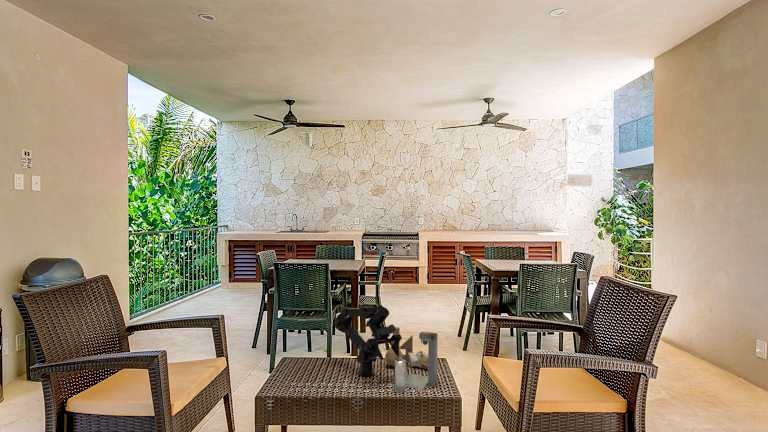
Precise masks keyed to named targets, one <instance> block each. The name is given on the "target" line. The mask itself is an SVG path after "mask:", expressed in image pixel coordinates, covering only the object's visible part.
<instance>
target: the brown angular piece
mask: <svg viewBox="0 0 768 432" xmlns="http://www.w3.org/2000/svg"><path fill="white" fill-rule="evenodd" d="M400 329H401V328H400V327H397V326H395V331H394V333H392V335H395V334H400V335H401V333H400ZM413 337H414V336H413V334H412V335H410V337H408V339H406V340H405V341H404V343H402V344H401V345H400V343H399V344H398V346H399V349H400V350H405V354H403V353H402V355H403V356H402V359H403V360H405V361H406V364H410V362H409V358H408V352H410V353H413V347H414V346H413V345H414V343H413V340H414V339H413ZM413 354H414V353H413Z"/></svg>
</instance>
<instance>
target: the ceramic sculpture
mask: <svg viewBox="0 0 768 432" xmlns="http://www.w3.org/2000/svg"><path fill="white" fill-rule="evenodd" d="M408 358H409V362H410V363H409V365H410V367H411V368H413V367H419V368H420V369H425V370H428V353H424V352H423V351H422V350H421V351H418V352H417V353H410V352H408ZM438 363H439V361H437V364H438Z"/></svg>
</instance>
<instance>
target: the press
mask: <svg viewBox="0 0 768 432" xmlns="http://www.w3.org/2000/svg"><path fill="white" fill-rule="evenodd" d="M418 338H419V340H420V344H423V345H424V346H426V345H427V346H428V348H427V349H428V351H427V352H428V353H427V354H428V369H427V372H428V373H427V374H428V375H427V376H425V375H421V374H413V373H409V374H408V375H406V377H405V388H412V389H417V390H418V389H419V390H424V389H426V388H427V387H430V388H431V387H432V388H435V387H436V386H437V385H438V363H437V362H438V333H436V332H429V331H420V332H419V333H418Z"/></svg>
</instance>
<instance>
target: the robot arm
mask: <svg viewBox="0 0 768 432" xmlns="http://www.w3.org/2000/svg"><path fill="white" fill-rule="evenodd" d="M389 315H390V311H389V309H388V308H387V307H384V306H383V305H382V304H379V305H377V307H376V306H374V305H372V306H371V305H370V306H364V307H360V308H359V307H344V308H342V310H341V312H340V313H338V315H336V317H335V319H334V322H333V326H334V328H336V330H337V331H338V332H341V333H344V334H345V335H346V337H347V338H348V339H349V340H350V341H351V343H353V345H354V346H355V347H356V348H357V349H358V355H357V356H356V357H355V358H356V362H357V363H358V364H360V371H359V372H357V374H358V375H360V376H361V377H362V378H367V377H371V376H376V373H375V372H374V371H373V369H374V367H373V362H377V359H380V360H381V361H383V360H384V357H383V353H382V352H381V350H380V346H379V345H384V344H389V345H390V348H392V350H393V351H394V352H395V354H396V355H397V356H398V357H399V348H400V343H401V340H402V339H403V337H402V335H401V333H400V334H395V335H393V333H394V331H395V327H396V326H395V325H394V324H393V323H392V324H389V325H388V326H383V325H382V324H383V323H384V322H385V321H386V320H387V318H388V316H389ZM353 317H359V318H360V319H363V320H366V322H365V323H366V324H365V327H367V328H368V327H369V329H370V331H371V337H372V338H368V339H367V340H366V341H365V340H364V338H363V337H362V336H361V335H360V334H359V332H358V331H356V329H355V328H354V327H353ZM367 319H368V320H367ZM391 334H392V336H391ZM390 336H391V337H390ZM398 344H399V346H398Z"/></svg>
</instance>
